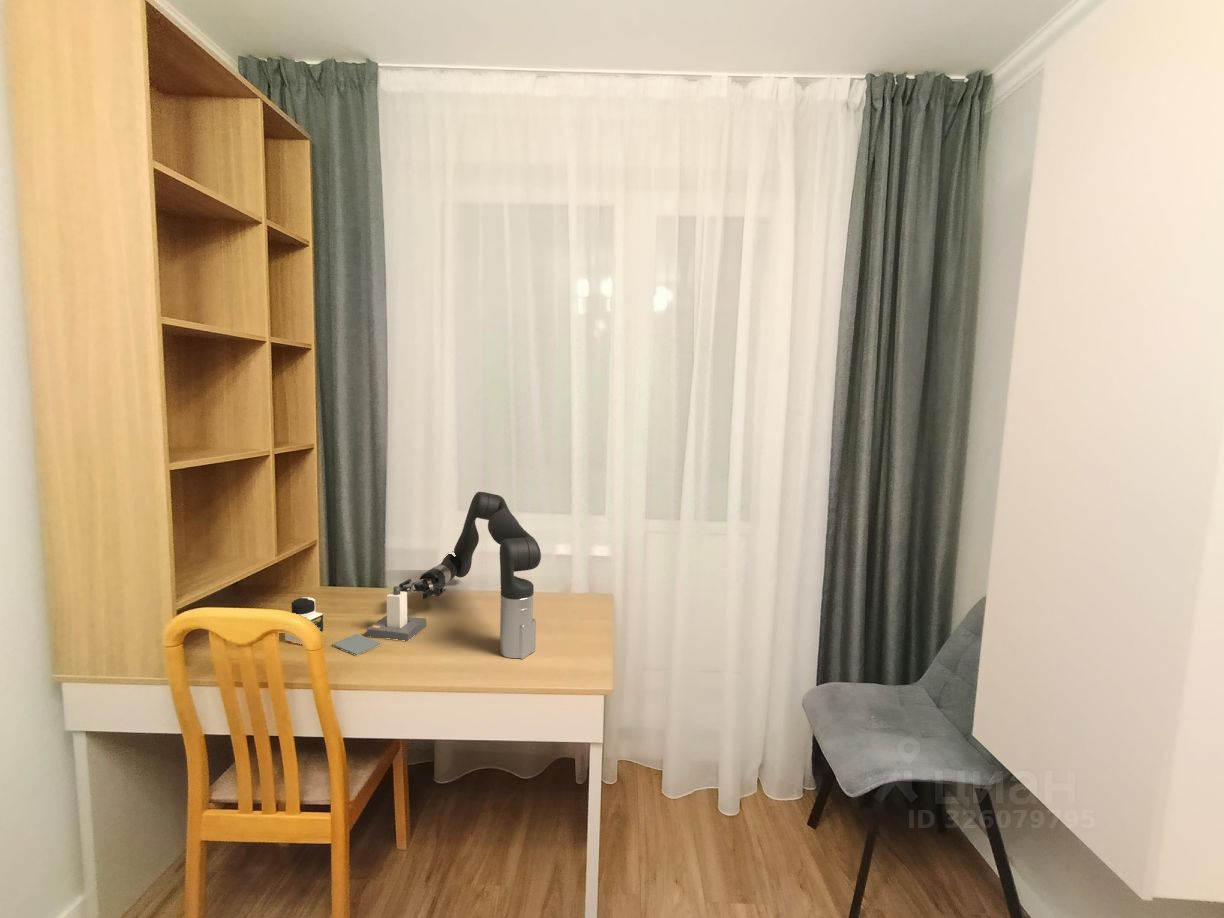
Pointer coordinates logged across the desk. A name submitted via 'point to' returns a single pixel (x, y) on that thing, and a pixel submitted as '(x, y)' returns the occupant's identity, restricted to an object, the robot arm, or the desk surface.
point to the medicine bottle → (306, 613)
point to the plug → (397, 608)
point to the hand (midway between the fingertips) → (411, 595)
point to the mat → (356, 644)
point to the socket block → (397, 629)
